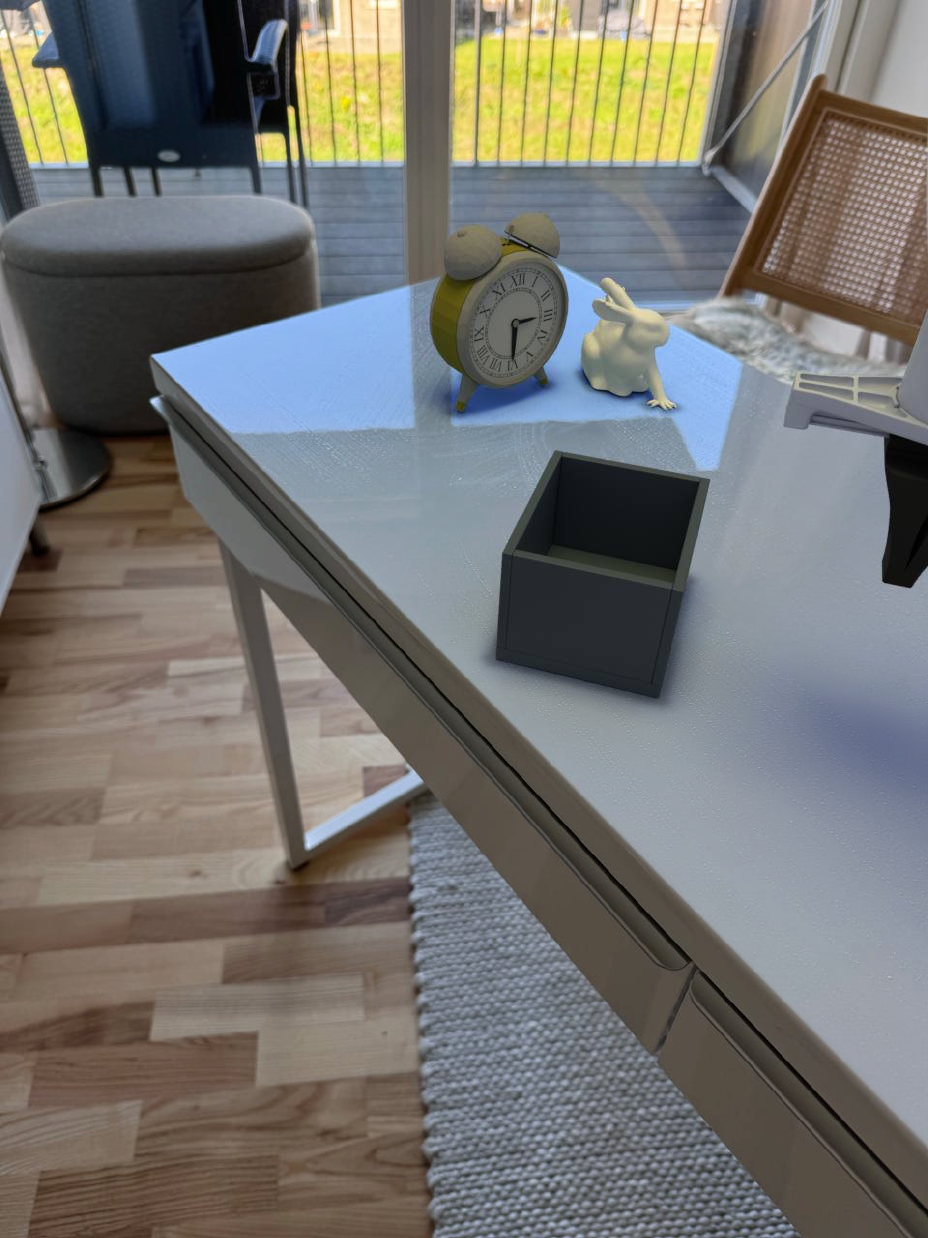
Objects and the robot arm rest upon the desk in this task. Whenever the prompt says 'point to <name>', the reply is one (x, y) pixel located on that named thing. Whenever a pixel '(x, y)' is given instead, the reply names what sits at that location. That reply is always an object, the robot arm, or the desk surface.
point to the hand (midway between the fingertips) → (896, 574)
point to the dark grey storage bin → (599, 571)
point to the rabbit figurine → (624, 346)
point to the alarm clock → (499, 304)
